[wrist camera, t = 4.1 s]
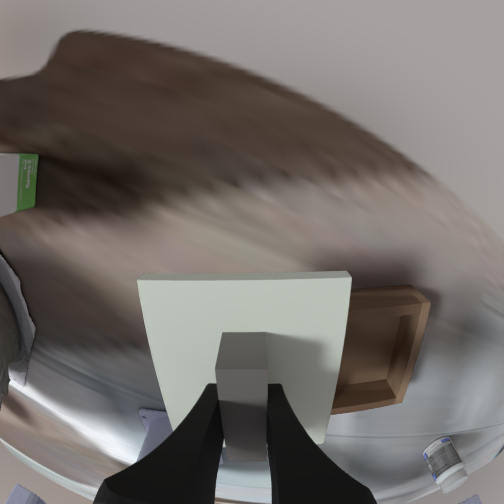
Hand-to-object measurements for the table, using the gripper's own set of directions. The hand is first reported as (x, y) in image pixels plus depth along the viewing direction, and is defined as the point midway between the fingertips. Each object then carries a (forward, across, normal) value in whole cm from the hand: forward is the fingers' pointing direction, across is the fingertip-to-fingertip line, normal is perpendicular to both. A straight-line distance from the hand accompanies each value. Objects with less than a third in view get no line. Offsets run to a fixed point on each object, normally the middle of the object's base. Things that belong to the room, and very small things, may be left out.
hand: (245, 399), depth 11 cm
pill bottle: (+11, -26, +26) cm, 39 cm away
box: (+10, -9, +4) cm, 14 cm away
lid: (+2, 0, 0) cm, 2 cm away
